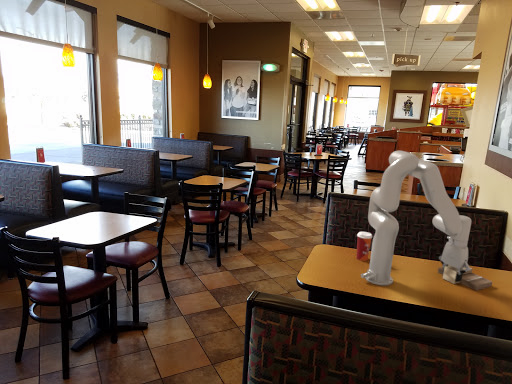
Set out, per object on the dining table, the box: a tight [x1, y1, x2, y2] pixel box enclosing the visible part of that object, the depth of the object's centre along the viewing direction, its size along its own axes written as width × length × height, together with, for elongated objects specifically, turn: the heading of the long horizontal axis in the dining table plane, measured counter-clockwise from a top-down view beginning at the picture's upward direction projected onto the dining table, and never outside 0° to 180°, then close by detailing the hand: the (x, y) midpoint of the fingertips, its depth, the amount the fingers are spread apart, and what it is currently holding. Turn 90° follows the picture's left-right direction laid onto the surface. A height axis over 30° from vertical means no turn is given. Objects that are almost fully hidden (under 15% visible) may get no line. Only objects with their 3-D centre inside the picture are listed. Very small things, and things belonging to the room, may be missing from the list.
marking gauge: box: [442, 266, 474, 285], centre depth 176 cm, size 6×15×6 cm, turn 117°
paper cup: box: [356, 231, 373, 262], centre depth 194 cm, size 8×8×14 cm
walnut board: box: [437, 265, 493, 292], centre depth 177 cm, size 20×11×3 cm, turn 27°
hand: (451, 277), depth 174 cm, fingers closed on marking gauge, 6 cm apart
